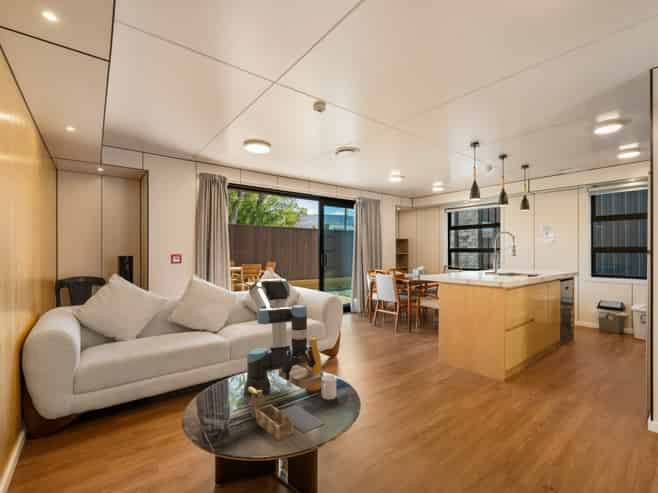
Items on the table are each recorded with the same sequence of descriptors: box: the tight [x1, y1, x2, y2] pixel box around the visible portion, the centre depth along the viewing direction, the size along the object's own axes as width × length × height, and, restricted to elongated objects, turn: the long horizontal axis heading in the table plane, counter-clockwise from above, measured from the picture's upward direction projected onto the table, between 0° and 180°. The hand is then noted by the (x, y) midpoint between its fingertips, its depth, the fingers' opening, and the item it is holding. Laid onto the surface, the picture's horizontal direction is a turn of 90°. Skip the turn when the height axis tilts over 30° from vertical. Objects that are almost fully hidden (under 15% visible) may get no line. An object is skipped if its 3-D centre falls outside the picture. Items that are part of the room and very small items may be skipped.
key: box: [248, 386, 262, 398], centre depth 160 cm, size 11×2×3 cm, turn 39°
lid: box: [278, 364, 323, 390], centre depth 154 cm, size 21×11×4 cm, turn 39°
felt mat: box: [279, 404, 325, 434], centre depth 154 cm, size 24×12×1 cm, turn 39°
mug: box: [320, 374, 337, 401], centre depth 176 cm, size 12×8×10 cm
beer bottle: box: [304, 337, 322, 392], centre depth 189 cm, size 9×9×29 cm
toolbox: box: [251, 390, 294, 442], centre depth 148 cm, size 28×8×11 cm, turn 39°
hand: (299, 383), depth 154 cm, fingers closed on lid, 11 cm apart
